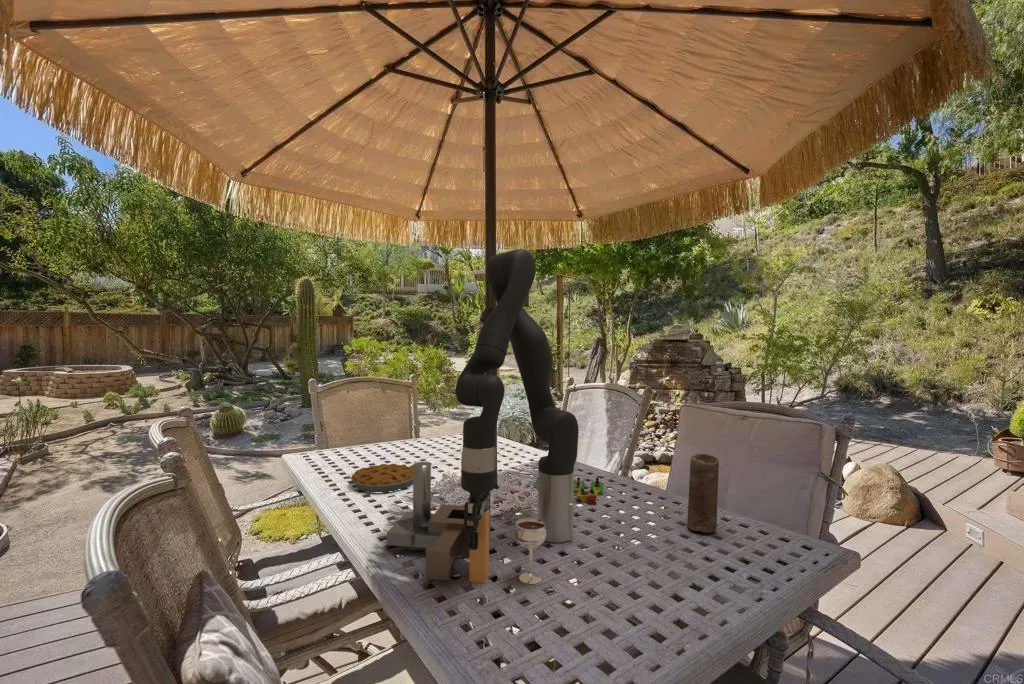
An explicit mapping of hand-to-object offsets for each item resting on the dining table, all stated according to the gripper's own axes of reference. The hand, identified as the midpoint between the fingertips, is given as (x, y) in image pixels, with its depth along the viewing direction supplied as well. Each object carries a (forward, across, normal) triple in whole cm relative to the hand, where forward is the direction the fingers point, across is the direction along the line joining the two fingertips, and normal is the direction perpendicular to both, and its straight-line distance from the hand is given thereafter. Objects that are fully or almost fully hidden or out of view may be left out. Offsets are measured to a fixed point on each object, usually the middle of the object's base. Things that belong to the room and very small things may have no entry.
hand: (477, 540), depth 104 cm
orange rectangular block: (+8, 0, 0) cm, 8 cm away
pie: (+9, +54, +46) cm, 72 cm away
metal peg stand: (+8, +14, +18) cm, 24 cm away
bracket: (+8, +7, +8) cm, 13 cm away
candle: (+8, +35, -54) cm, 65 cm away
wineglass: (+8, +2, -12) cm, 14 cm away
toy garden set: (+8, +58, -17) cm, 61 cm away
